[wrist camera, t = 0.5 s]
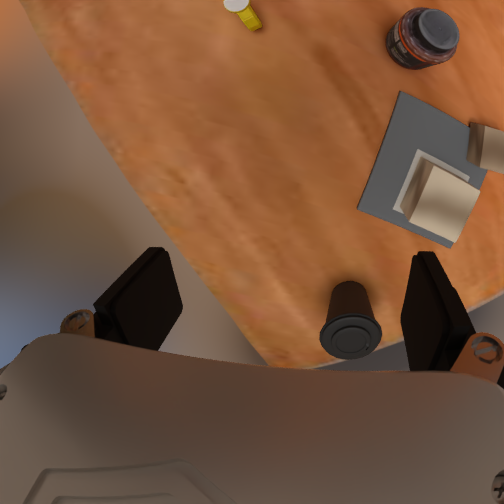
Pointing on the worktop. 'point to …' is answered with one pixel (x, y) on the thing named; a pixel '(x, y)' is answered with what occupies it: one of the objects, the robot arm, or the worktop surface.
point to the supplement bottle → (422, 38)
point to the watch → (244, 12)
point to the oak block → (486, 147)
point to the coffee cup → (350, 323)
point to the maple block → (438, 200)
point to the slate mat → (416, 159)
